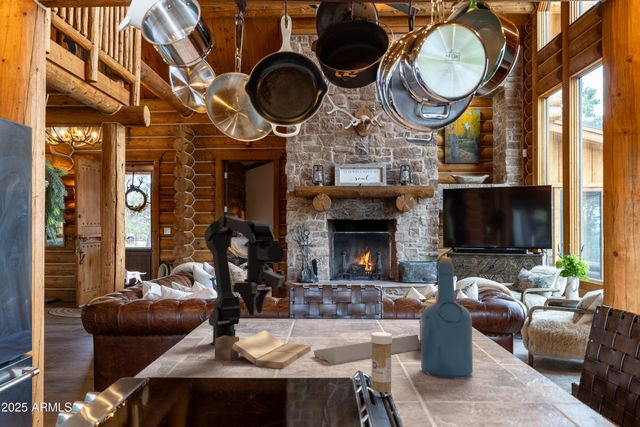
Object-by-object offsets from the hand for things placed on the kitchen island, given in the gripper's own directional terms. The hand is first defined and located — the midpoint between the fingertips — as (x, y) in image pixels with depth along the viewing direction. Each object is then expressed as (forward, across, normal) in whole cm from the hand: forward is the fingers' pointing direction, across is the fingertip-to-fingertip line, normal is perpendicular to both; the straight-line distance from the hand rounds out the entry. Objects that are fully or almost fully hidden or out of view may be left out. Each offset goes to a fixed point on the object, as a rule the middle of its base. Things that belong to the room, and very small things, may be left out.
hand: (255, 314), depth 138 cm
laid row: (+12, 0, -10) cm, 15 cm away
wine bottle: (+12, 0, -56) cm, 57 cm away
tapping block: (+12, -7, +6) cm, 15 cm away
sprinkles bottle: (+12, -23, -43) cm, 50 cm away
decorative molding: (+13, +15, -32) cm, 37 cm away
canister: (+12, +27, -52) cm, 60 cm away
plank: (+10, 0, -1) cm, 10 cm away
